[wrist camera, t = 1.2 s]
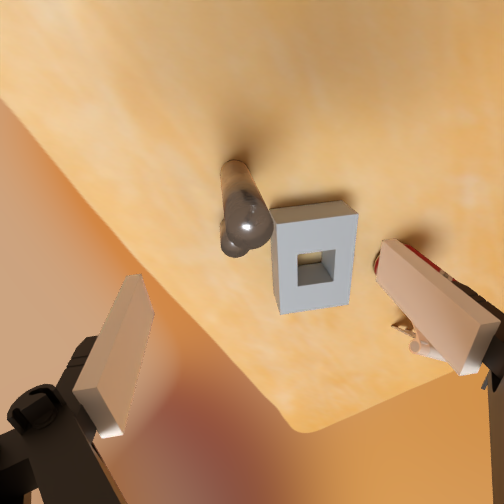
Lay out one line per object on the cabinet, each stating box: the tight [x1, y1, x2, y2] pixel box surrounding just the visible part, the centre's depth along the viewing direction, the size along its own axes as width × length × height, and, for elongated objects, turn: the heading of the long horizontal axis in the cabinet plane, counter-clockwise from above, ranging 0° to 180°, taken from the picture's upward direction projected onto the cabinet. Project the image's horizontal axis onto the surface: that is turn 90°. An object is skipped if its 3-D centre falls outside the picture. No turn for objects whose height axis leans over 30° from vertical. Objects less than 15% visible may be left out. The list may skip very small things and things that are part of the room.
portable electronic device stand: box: [392, 323, 447, 362], centre depth 47 cm, size 9×8×8 cm
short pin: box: [220, 218, 249, 258], centre depth 36 cm, size 4×4×5 cm
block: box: [269, 200, 358, 315], centre depth 39 cm, size 14×10×5 cm
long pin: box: [220, 160, 274, 249], centre depth 28 cm, size 4×4×16 cm
